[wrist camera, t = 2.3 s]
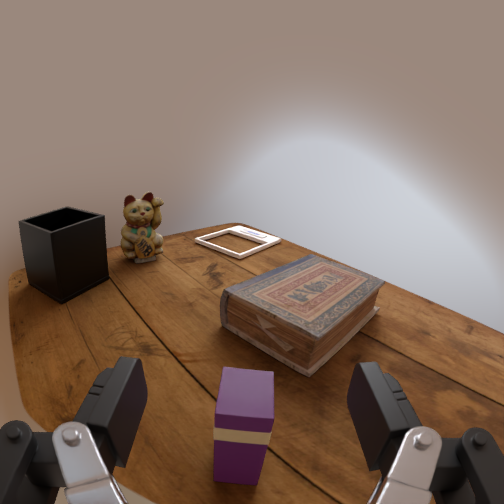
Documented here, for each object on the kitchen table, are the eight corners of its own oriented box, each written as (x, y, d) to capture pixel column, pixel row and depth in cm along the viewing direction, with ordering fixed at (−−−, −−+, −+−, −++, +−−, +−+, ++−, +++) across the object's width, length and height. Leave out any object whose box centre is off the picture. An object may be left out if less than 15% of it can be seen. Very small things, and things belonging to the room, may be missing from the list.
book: (387, 279, 52) (316, 342, 35) (378, 312, 55) (305, 383, 37) (309, 251, 63) (214, 288, 45) (304, 281, 65) (213, 327, 47)
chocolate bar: (257, 485, 23) (275, 419, 19) (212, 481, 23) (213, 413, 19) (259, 445, 28) (274, 371, 24) (219, 441, 28) (222, 365, 24)
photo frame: (281, 238, 86) (240, 254, 72) (280, 241, 86) (239, 259, 72) (238, 224, 94) (194, 237, 80) (238, 228, 94) (194, 241, 80)
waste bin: (61, 304, 46) (50, 233, 42) (28, 283, 50) (18, 221, 46) (109, 278, 57) (104, 215, 52) (72, 263, 61) (67, 206, 57)
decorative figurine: (127, 268, 62) (125, 196, 57) (115, 254, 68) (113, 189, 63) (168, 259, 69) (168, 192, 63) (152, 247, 74) (152, 186, 69)
